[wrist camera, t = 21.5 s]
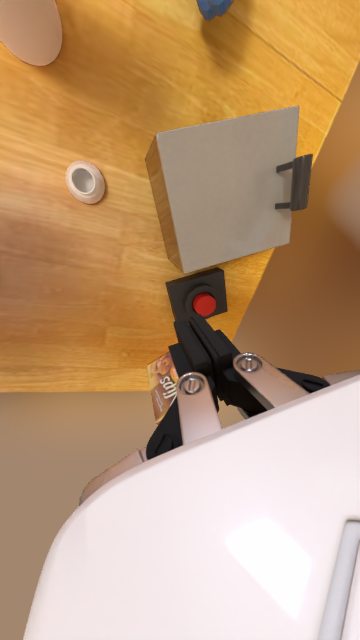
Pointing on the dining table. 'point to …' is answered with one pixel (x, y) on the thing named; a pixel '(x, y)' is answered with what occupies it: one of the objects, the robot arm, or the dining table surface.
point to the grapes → (213, 8)
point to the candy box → (162, 385)
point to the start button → (204, 304)
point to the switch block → (197, 293)
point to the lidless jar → (85, 182)
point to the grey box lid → (233, 185)
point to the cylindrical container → (31, 30)
